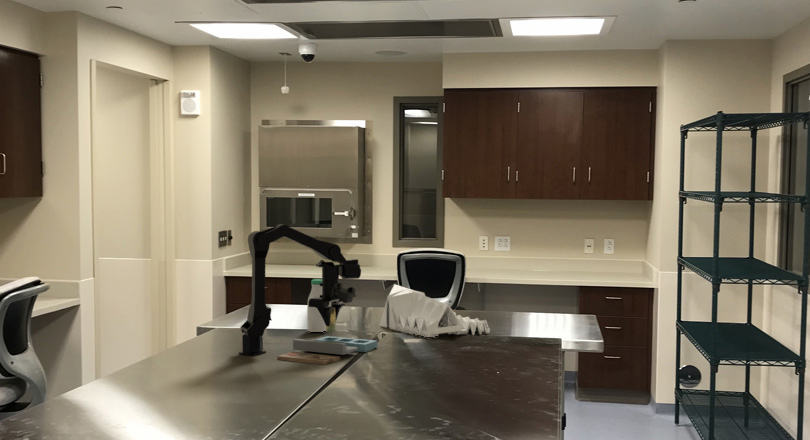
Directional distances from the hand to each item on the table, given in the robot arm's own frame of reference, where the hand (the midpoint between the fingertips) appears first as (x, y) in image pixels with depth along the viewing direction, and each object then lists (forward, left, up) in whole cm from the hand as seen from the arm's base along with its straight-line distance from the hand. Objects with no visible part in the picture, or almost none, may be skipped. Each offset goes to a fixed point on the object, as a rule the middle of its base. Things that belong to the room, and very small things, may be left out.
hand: (330, 325), depth 248 cm
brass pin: (0, 0, -2) cm, 2 cm away
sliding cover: (-12, -6, -6) cm, 15 cm away
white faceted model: (+49, -16, -8) cm, 52 cm away
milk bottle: (+23, +21, -7) cm, 32 cm away
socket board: (0, -6, -7) cm, 9 cm away
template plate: (-22, -6, -7) cm, 24 cm away
